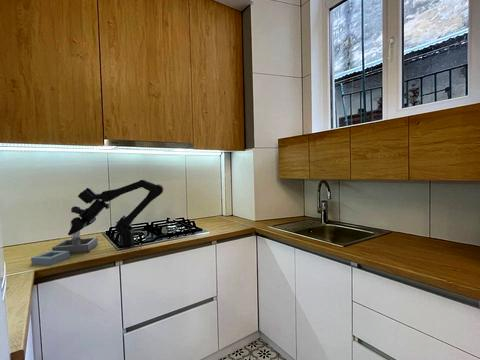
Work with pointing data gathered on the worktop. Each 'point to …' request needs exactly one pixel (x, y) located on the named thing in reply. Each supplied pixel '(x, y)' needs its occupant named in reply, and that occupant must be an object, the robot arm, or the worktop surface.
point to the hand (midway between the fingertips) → (72, 232)
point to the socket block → (50, 258)
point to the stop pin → (76, 238)
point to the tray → (77, 246)
